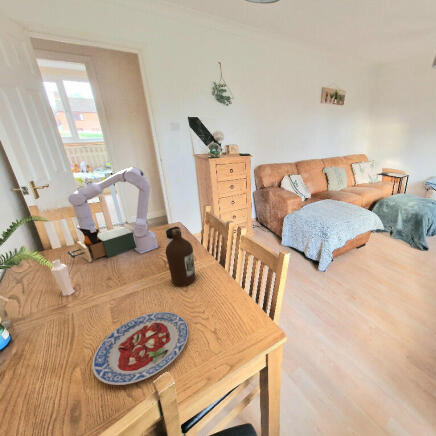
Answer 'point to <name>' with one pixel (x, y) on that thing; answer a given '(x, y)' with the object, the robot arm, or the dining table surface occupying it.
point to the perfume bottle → (62, 277)
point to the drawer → (90, 250)
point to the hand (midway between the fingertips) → (92, 241)
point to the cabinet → (117, 241)
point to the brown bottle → (180, 260)
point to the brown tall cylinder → (170, 234)
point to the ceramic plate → (140, 348)
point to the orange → (89, 240)
